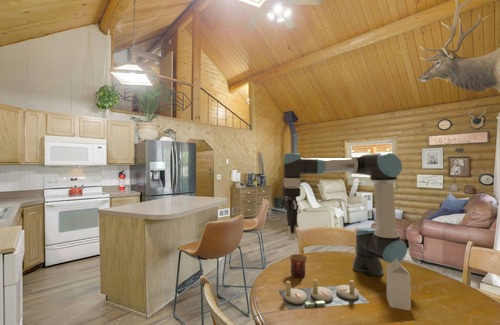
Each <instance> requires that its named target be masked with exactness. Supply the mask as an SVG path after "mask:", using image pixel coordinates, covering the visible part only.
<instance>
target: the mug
mask: <svg viewBox="0 0 500 325" xmlns="http://www.w3.org/2000/svg"><path fill="white" fill-rule="evenodd" d="M289 259H290V276H291V277H294V278H296V279H297V278H299V279H300V278H305V277H306V262H307V256H306V255H304V254H299V253H293V254H290V255H289Z"/></svg>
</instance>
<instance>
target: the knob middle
mask: <svg viewBox="0 0 500 325" xmlns="http://www.w3.org/2000/svg"><path fill="white" fill-rule="evenodd" d="M318 282H319V280H318V279H316V278H315V279H312V287H311V288H312V289H311V296H312V297H313V298H314V299H316V300H318V301H324V302H328V301H331V300H332V299H333V292H332V291H331V290H330V289H328V288H325V287H326V286H319V285H318V284H319V283H318Z"/></svg>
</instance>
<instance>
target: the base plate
mask: <svg viewBox="0 0 500 325" xmlns="http://www.w3.org/2000/svg"><path fill="white" fill-rule="evenodd" d="M347 285H348V286H349V284H347ZM337 286H338V285H334V286H333V285H332V286H324V287H325V288H328V289H330V290H331V291H332V292H333V299H332V300H331V301H328V302H324V301H318V300H316V299H314V298H313V297H312V296H311V289H312V288H313V287H306V288H305V287H303V288H299V289H300V290H302V291H304V292H305V293H306V295H307V300H306V302H304V303H302V304H294V303H290V302H288V301H287V300H286V299H285V291H286V289H278V292H279V295H280V296H281V298H282V300H283V302H284V305H286V308H287V310H289V311H291V310H292V311H293V310H301V309H313V308H324V307H340V306H348V305H350V306H351V305H359V304H361V305H362V304H369V303H370V302H369V300H368V299H366V298H365V297H364V296H363V295H362V294H360V293H359V297H358V298H357V299H346V298H343V297H341V296H339V295H338V294H337V292H336V288H337Z"/></svg>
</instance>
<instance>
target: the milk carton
mask: <svg viewBox="0 0 500 325" xmlns="http://www.w3.org/2000/svg"><path fill="white" fill-rule="evenodd" d="M411 277H412V276H411V273H409V271H408V270H407V268H406V267H404V266H403V265H402V264H401V262H399V261H398V259H397V258H396V260H395V261H393V262H391V263H389V264H387V265H386V300H387V303H388V305H389V307H390V308H391V309H394V308H395V309H399V310H404V311H408V312H409V311H411V307H412V306H411V303H412V302H411V299H412V298H411V297H412V296H411V295H412V294H411V293H412V292H411V284H412V283H411Z"/></svg>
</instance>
